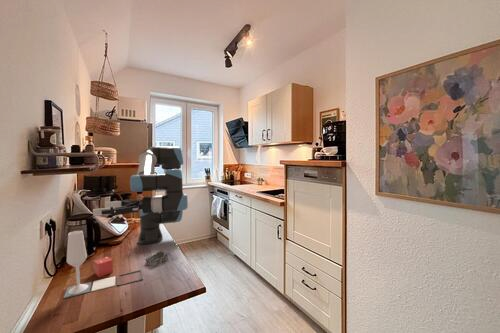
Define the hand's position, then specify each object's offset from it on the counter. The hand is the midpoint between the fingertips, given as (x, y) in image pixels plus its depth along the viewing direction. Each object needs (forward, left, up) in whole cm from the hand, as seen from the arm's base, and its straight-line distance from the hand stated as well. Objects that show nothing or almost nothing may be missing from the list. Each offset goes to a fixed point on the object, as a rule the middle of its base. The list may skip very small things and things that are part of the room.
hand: (99, 208), depth 97 cm
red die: (0, -11, -33) cm, 35 cm away
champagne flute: (+8, +1, -33) cm, 34 cm away
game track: (-1, +1, -33) cm, 33 cm away
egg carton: (-24, -11, -34) cm, 43 cm away
